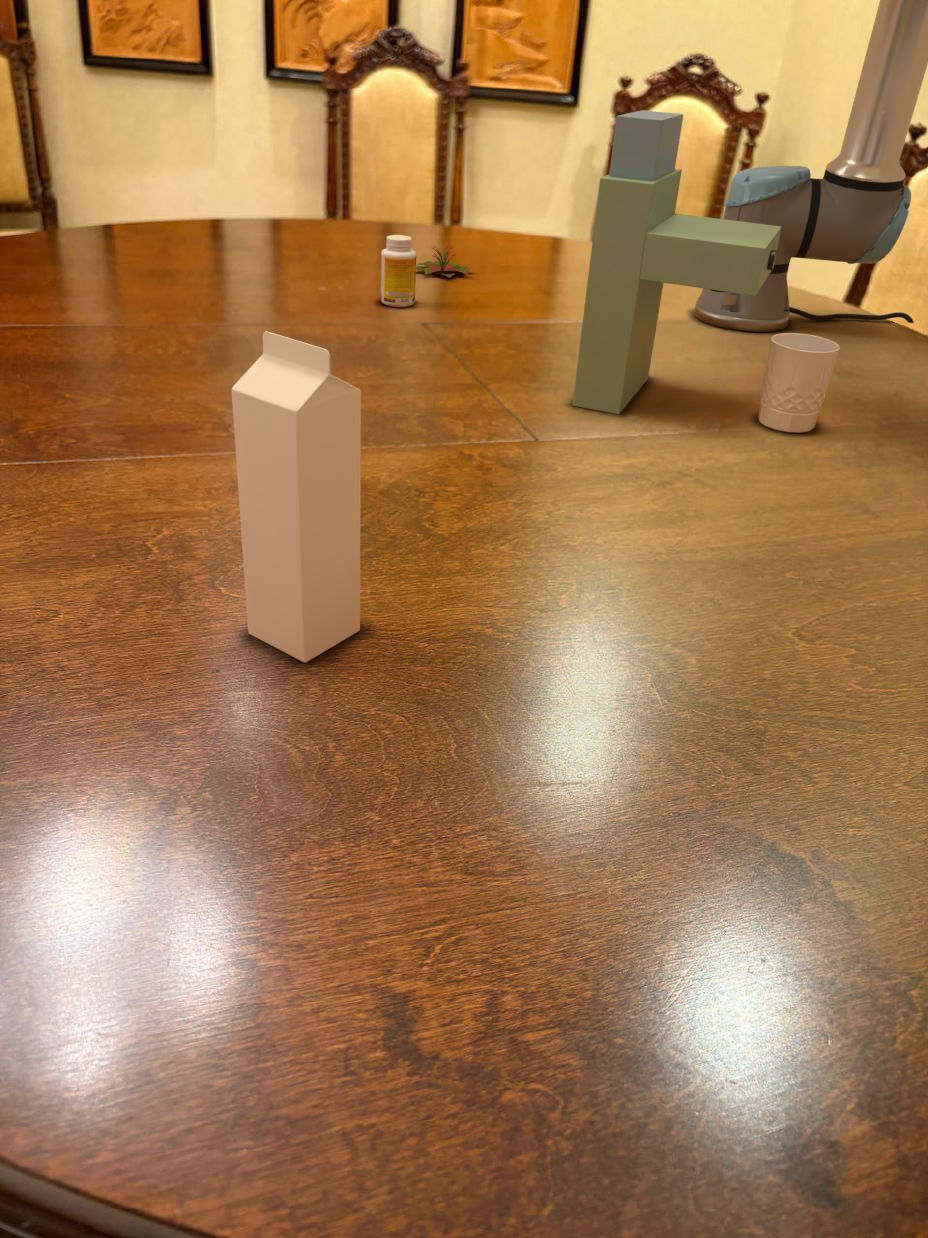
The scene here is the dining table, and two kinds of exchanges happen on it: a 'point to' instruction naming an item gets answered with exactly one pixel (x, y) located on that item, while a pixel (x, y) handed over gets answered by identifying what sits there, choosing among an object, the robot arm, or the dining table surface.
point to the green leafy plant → (442, 265)
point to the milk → (299, 497)
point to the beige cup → (796, 381)
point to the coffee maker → (652, 258)
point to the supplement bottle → (398, 272)
